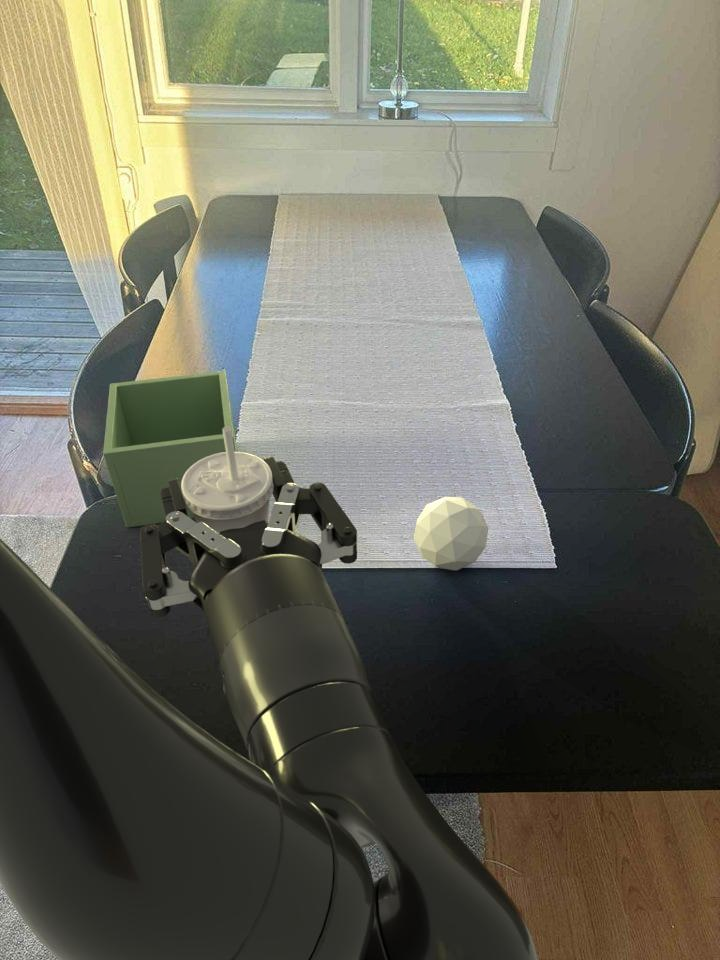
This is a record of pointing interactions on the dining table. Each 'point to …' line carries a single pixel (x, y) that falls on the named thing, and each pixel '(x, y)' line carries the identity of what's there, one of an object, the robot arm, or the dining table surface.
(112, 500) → the dining table surface
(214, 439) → the trash bin
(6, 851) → the robot arm
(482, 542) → the geometric ball
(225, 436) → the smoothie
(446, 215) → the dining table surface
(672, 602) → the dining table surface
